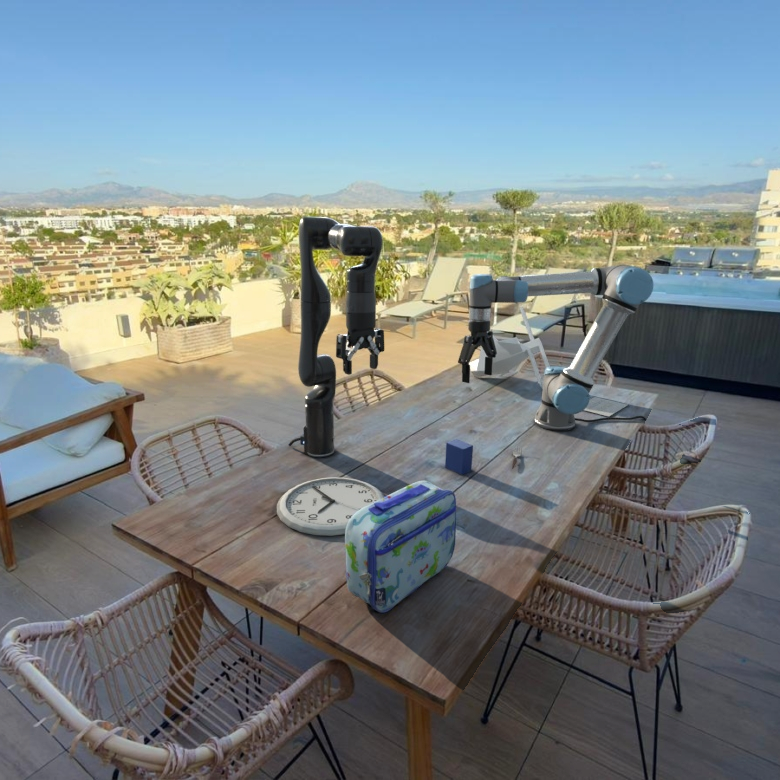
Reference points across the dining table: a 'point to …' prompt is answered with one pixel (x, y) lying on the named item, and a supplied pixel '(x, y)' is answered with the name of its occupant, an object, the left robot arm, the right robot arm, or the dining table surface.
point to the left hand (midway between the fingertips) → (360, 371)
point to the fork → (516, 456)
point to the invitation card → (604, 406)
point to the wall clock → (325, 504)
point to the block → (459, 456)
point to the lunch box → (399, 543)
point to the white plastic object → (511, 354)
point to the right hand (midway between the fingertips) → (477, 378)
